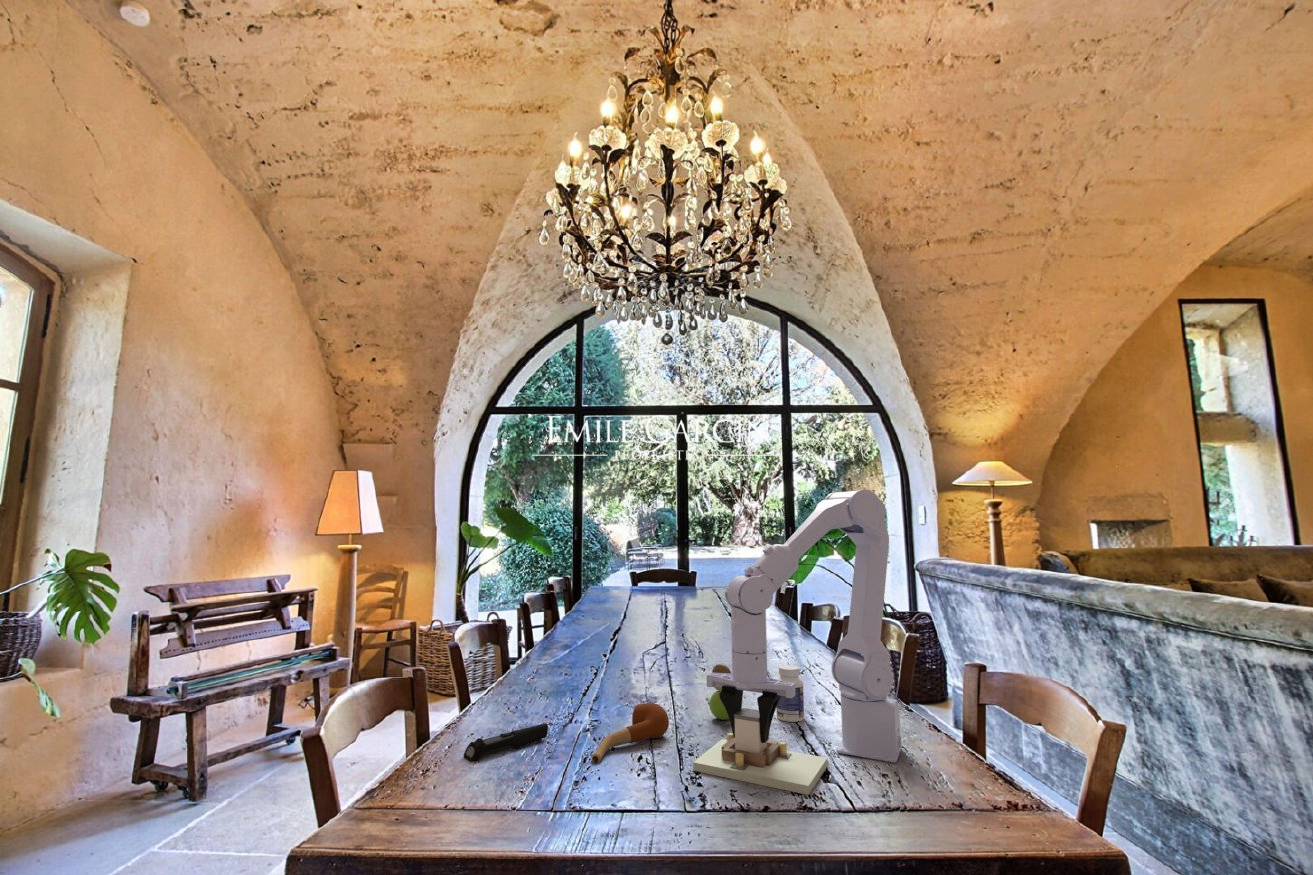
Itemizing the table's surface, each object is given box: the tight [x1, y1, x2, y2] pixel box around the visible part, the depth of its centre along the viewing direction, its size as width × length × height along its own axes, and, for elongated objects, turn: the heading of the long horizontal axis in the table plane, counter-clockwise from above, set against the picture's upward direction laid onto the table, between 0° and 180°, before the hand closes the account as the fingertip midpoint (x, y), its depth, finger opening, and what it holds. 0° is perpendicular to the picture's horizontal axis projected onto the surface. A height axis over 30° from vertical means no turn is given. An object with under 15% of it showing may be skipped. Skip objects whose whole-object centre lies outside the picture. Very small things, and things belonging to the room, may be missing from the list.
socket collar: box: [722, 737, 779, 768], centre depth 97 cm, size 8×8×2 cm
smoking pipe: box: [591, 702, 670, 764], centre depth 105 cm, size 7×18×6 cm, turn 151°
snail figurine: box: [708, 663, 732, 721], centre depth 120 cm, size 5×6×12 cm
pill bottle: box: [775, 664, 805, 723], centre depth 121 cm, size 5×5×10 cm
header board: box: [692, 732, 829, 796], centre depth 95 cm, size 18×12×3 cm, turn 62°
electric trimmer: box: [463, 722, 549, 763], centre depth 103 cm, size 4×15×3 cm, turn 134°
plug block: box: [734, 707, 767, 754], centre depth 98 cm, size 4×4×6 cm
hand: (750, 738), depth 97 cm, fingers closed on plug block, 4 cm apart
